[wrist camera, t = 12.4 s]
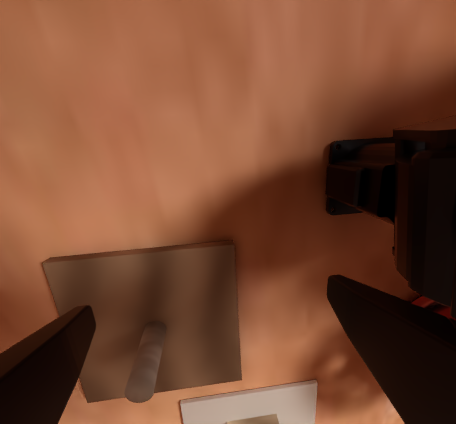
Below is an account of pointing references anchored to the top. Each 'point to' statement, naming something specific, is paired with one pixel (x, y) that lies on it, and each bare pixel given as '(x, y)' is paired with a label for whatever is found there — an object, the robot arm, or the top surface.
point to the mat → (255, 405)
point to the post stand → (154, 317)
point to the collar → (257, 420)
